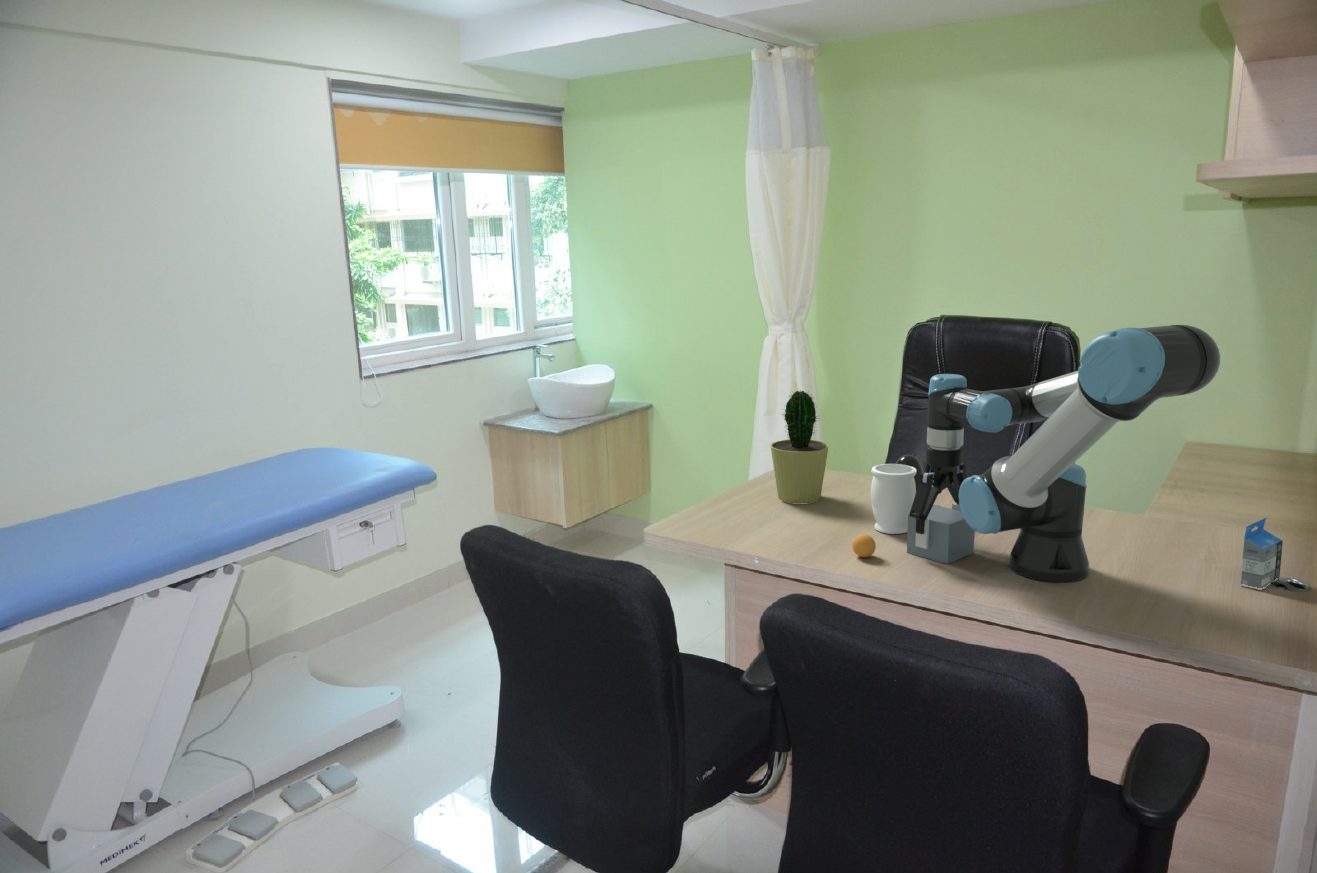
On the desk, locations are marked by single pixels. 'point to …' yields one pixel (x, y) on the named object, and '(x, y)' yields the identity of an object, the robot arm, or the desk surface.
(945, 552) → the slate gray cube
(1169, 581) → the desk surface
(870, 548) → the ball
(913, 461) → the dark gray tall dome
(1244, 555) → the label tape box
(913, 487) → the jar
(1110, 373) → the robot arm
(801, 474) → the potted cactus
